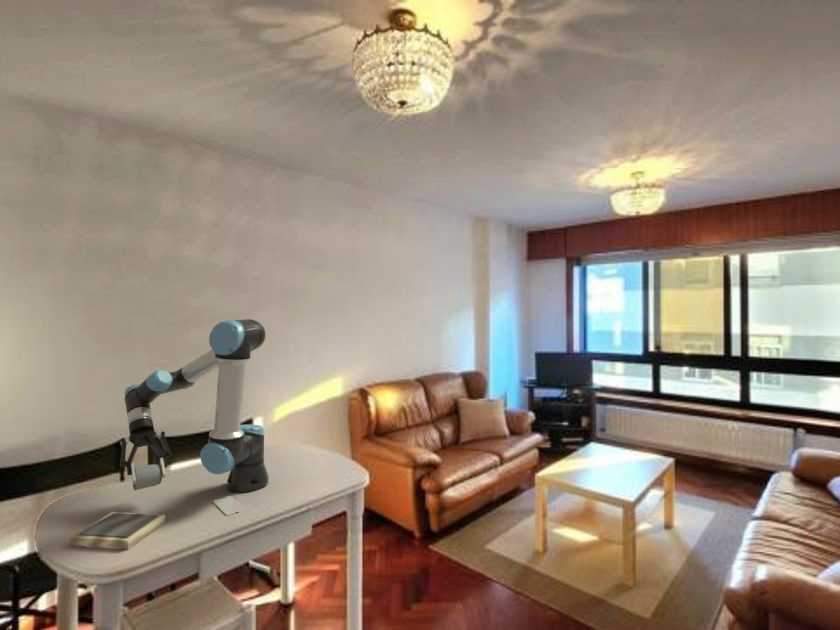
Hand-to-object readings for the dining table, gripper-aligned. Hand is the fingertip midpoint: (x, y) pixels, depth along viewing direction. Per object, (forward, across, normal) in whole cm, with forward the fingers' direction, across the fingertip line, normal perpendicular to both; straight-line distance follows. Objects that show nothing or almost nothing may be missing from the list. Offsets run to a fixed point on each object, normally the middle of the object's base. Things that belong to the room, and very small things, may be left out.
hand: (149, 479), depth 153 cm
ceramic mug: (-1, 0, -6) cm, 6 cm away
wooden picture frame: (+16, +10, +1) cm, 19 cm away
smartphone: (+17, -22, +1) cm, 28 cm away
